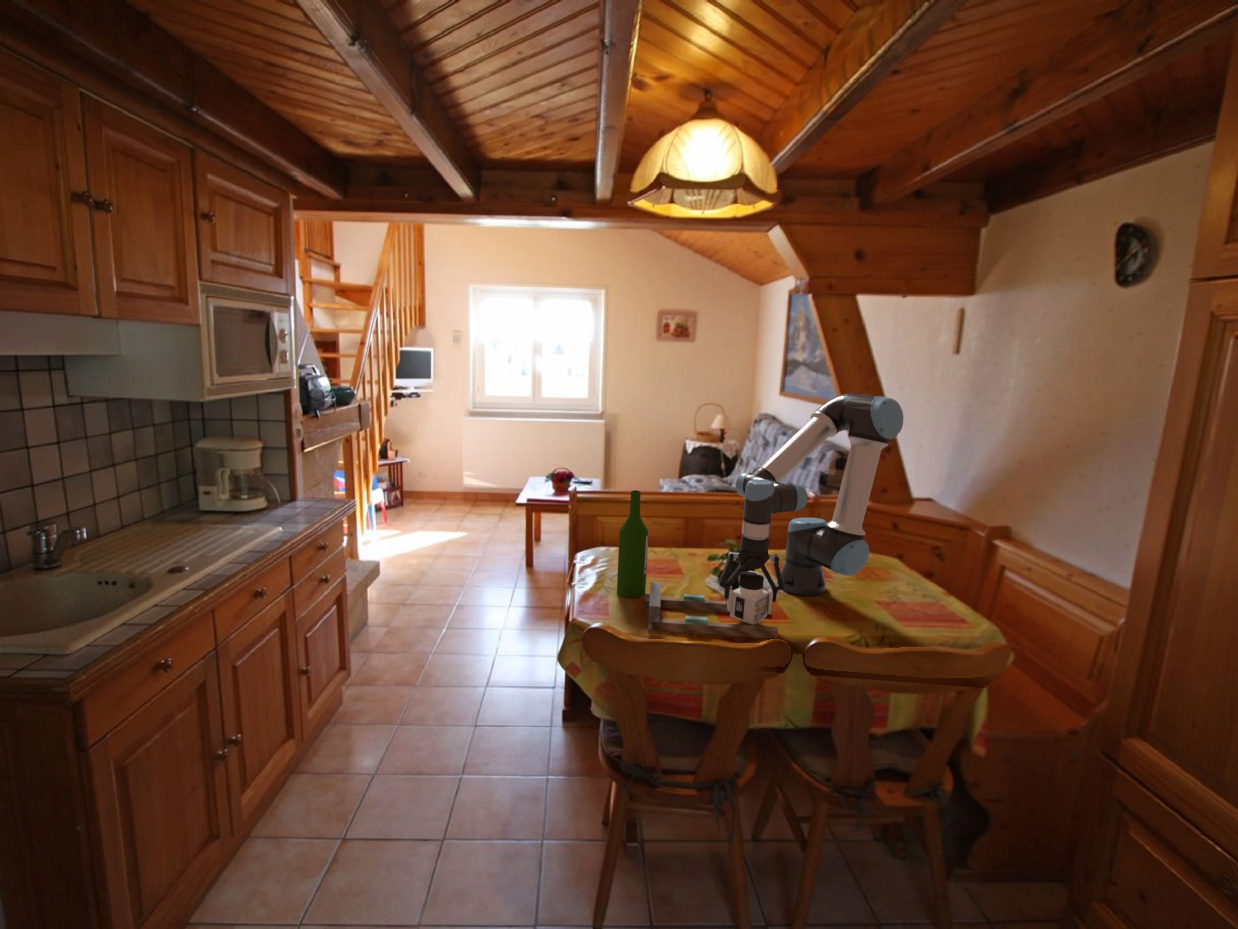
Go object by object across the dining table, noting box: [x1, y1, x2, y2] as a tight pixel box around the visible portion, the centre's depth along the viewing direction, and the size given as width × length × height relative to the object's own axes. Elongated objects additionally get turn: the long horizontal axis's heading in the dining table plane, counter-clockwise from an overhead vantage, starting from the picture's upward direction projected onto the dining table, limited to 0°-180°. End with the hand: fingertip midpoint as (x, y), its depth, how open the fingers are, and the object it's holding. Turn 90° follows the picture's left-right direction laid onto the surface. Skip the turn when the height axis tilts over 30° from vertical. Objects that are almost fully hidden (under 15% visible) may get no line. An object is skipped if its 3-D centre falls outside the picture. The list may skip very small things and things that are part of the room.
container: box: [729, 570, 769, 626], centre depth 177 cm, size 8×8×13 cm
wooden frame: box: [644, 581, 779, 640], centre depth 179 cm, size 36×17×7 cm, turn 86°
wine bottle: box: [616, 490, 649, 599], centre depth 193 cm, size 9×9×32 cm
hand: (748, 610), depth 178 cm, fingers closed on container, 10 cm apart
